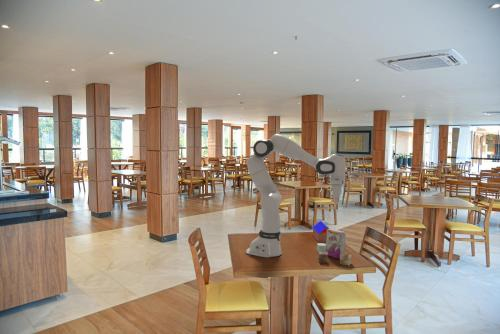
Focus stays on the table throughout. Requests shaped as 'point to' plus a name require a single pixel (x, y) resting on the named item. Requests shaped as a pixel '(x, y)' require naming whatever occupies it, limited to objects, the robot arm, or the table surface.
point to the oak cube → (345, 259)
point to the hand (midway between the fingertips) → (337, 202)
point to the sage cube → (321, 247)
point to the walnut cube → (323, 257)
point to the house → (320, 231)
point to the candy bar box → (335, 243)
